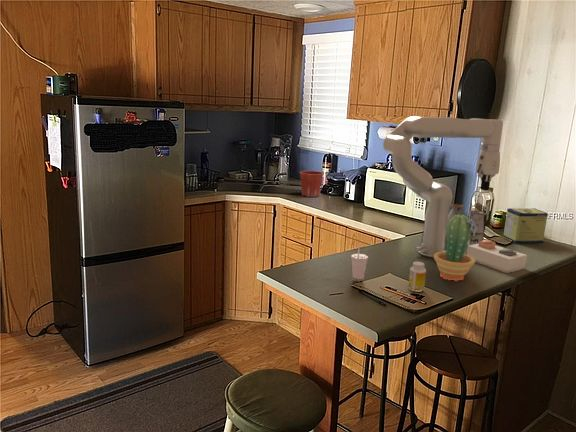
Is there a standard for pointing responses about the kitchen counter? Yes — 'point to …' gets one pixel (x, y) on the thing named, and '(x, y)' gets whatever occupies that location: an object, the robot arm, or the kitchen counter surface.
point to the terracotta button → (487, 244)
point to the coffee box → (477, 226)
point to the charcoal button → (507, 252)
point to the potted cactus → (456, 249)
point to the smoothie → (359, 264)
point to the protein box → (525, 225)
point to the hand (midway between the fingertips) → (484, 189)
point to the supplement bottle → (417, 276)
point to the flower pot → (311, 183)
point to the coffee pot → (455, 211)
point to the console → (497, 258)
